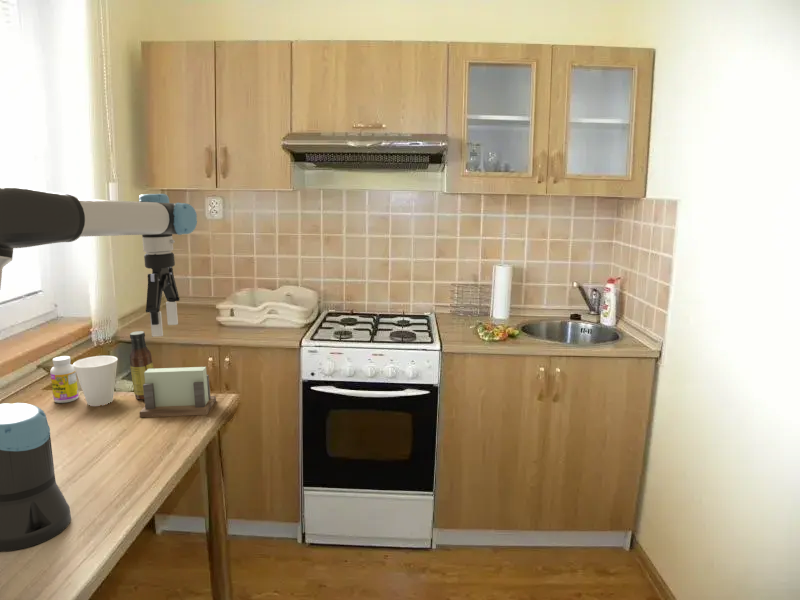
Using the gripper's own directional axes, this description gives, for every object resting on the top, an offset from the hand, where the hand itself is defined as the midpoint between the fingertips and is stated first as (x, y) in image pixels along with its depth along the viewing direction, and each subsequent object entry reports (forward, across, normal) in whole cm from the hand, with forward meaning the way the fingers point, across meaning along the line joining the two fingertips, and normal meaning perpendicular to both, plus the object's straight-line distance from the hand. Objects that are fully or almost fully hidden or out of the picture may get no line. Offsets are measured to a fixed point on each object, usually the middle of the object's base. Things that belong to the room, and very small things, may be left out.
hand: (165, 330), depth 178 cm
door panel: (+22, +2, -1) cm, 22 cm away
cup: (+23, +10, +24) cm, 35 cm away
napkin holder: (+23, +2, -1) cm, 23 cm away
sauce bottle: (+23, +13, +12) cm, 29 cm away
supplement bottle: (+24, +13, +35) cm, 44 cm away
